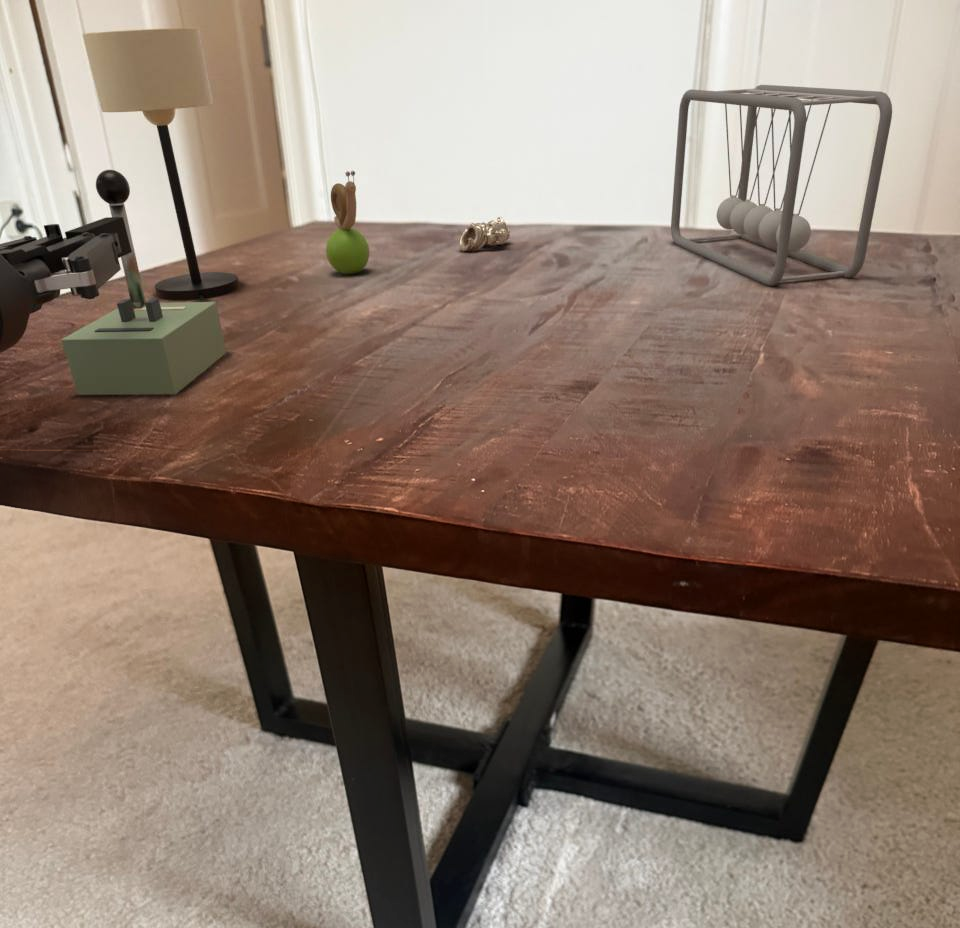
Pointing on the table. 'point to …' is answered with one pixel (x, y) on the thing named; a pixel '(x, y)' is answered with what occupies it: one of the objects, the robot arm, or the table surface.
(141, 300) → the toggle lever
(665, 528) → the table surface
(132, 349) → the switch box
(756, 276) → the newton's cradle
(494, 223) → the ornament
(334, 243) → the snail figurine
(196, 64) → the desk lamp
